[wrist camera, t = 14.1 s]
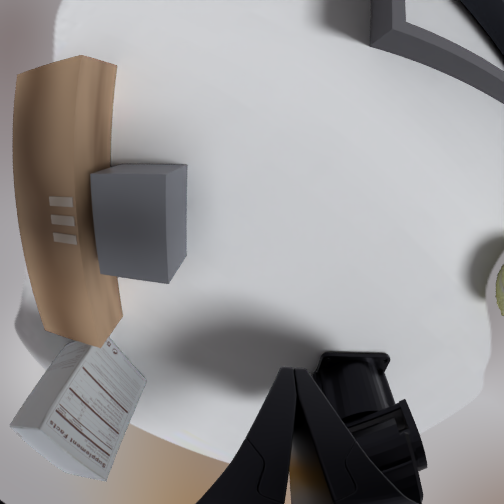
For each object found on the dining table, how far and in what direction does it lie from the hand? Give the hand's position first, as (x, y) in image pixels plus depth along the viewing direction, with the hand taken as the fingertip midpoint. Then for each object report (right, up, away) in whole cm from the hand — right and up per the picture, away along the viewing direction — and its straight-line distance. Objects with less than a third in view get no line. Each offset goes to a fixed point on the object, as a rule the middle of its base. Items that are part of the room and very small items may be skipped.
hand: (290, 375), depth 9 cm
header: (-12, +8, +10) cm, 18 cm away
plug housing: (-8, +7, +10) cm, 15 cm away
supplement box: (-17, -7, +17) cm, 25 cm away
